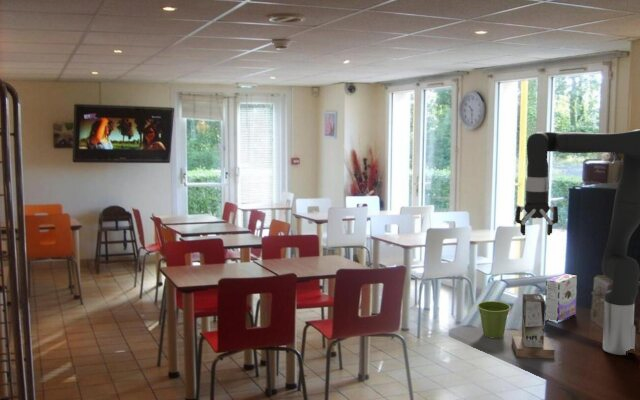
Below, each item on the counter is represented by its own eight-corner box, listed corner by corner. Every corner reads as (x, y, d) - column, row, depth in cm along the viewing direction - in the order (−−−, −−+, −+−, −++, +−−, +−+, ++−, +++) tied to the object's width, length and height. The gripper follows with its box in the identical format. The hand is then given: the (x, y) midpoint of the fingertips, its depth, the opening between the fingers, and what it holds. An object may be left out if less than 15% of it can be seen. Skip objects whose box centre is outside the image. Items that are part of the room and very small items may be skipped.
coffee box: (544, 348, 222) (545, 301, 220) (524, 347, 224) (525, 301, 221) (540, 338, 231) (541, 293, 229) (521, 337, 232) (522, 293, 230)
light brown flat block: (547, 345, 233) (547, 337, 232) (554, 358, 221) (554, 349, 221) (512, 344, 235) (512, 336, 234) (517, 357, 223) (517, 348, 222)
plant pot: (470, 334, 246) (470, 305, 244) (492, 327, 252) (492, 299, 250) (494, 343, 236) (495, 313, 234) (517, 336, 242) (517, 306, 240)
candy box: (562, 312, 268) (564, 272, 266) (576, 315, 264) (577, 275, 261) (544, 320, 259) (545, 279, 257) (557, 323, 255) (559, 282, 252)
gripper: (556, 187, 235) (554, 232, 237) (514, 188, 237) (513, 232, 239) (560, 190, 228) (559, 237, 230) (517, 190, 230) (516, 236, 232)
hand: (536, 234), depth 235 cm, fingers open, 8 cm apart
